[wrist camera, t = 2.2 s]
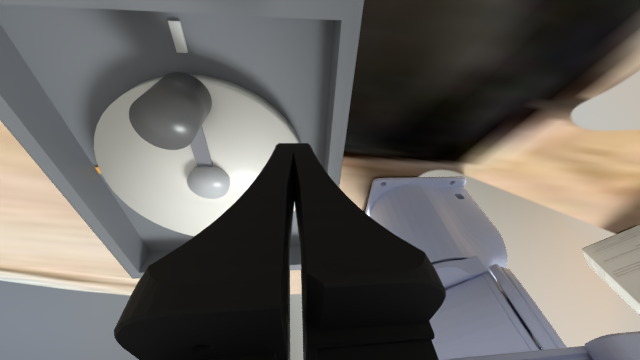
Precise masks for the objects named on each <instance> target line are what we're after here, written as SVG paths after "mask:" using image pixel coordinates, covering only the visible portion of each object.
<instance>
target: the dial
mask: <svg viewBox="0 0 640 360" xmlns="http://www.w3.org/2000/svg"><path fill="white" fill-rule="evenodd" d="M278 143H301V142H300V139H299V137H298V136H297V134H296V132H295V130H294V128H293V127H292V126H291V125H290V123H289V122H288V121H287V119H286V118H285V117H284V116H283V115H282V114H281V113H280V112H279V111H278V110H277V109H276V108H275V107H274V106H272V105H271V104H270V103H269V102H267V101H266V100H265V99H263V98H262V97H260V96H258V95H257V94H255V93H254V92H252V91H250V90H248V89H246V88H244V87H241V86H239V85H237V84H234V83H231V82H229V81H226V80H223V79H219V78H214V77H210V76H205V75H194V74H187V73H182V72H173V73H169V74H167V75H165V76H161V77H156V78H153V79H150V80H147V81H145V82H142V83H140V84H138V85H137V86H135V87H133V88H131V89H130V90H128V91H127V92H126V93H124V94H123V95H121V96H120V97H119V98H118V99H116V100H115V101H114V102H113V103H112V104H110V105H109V106H108V108H107V109H106V110H105V112H104V113H103V114H102V115H101V118H100V120H99V122H98V124H97V126H96V130H95V135H94V152H95V157H96V161H97V164H98V167H99V169H100V172H101V173H102V175H103V177H104V179H105V181H106V182H107V183H108V185H109V186H110V187H111V189H112V190H113V191H114V192H115V194H116V195H117V196H118V197H119V198H120V199H121V200H122V201H123V202H125V203H126V204H127V205H128V206H129V207H130V208H132V209H133V210H135V211H136V212H137V213H139V214H140V215H142V216H143V217H145V218H147V219H149V220H150V221H152V222H154V223H156V224H158V225H160V226H163V227H165V228H168V229H170V230H173V231H176V232H179V233H183V234H186V235H191V236H196V235H197V234H198V233H200V232H201V231H202V230H204V229H205V228H206V227H208V226H209V225H210V224H212V223H213V222H214V221H215V220H216V219H218V218H219V217H220V216H221V215H222V214H223V213H224V212H225V211H226V210H227V209H229V208H230V207H231V206H232V205H233V204H234V203H235V202H236V201H237V200H238V199H239V198H240V197H241V196H242V195H243V193H244V192H245V191H246V190H247V189H248V188H249V187H250V185H251V184H252V183H253V181H254V180H255V179H256V178H257V176H258V175H259V174H260V172H261V171H262V169H263V168H264V166H265V165H266V163H267V162H268V160H269V158H270V157H271V155H272V153H273V151H274V149H275V146H276V145H277V144H278ZM294 211H295V202H294Z"/></svg>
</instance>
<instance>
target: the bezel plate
mask: <svg viewBox="0 0 640 360" xmlns="http://www.w3.org/2000/svg"><path fill="white" fill-rule="evenodd" d="M363 5H364V0H0V120H1V122H2V123H3V124H4V125H5V126H6V128H7V129H8V130H9V131H10V132H11V133H12V135H13V136H14V137H15V138H16V139H17V141H18V142H19V143H20V144H21V145H22V147H23V148H24V149H25V150H26V151H27V153H28V154H29V155H30V156H31V157H32V159H33V160H34V161H35V162H36V163H37V165H38V166H39V167H40V168H41V169H42V171H43V172H44V173H45V174H46V175H47V177H48V178H49V179H50V180H51V181H52V183H53V184H54V185H55V186H56V187H57V189H58V190H59V191H60V192H61V193H62V195H63V196H64V197H65V198H66V199H67V201H68V202H69V203H70V204H71V205H72V207H73V208H74V209H75V210H76V211H77V213H78V214H79V215H80V216H81V217H82V219H83V220H84V221H85V222H86V223H87V225H88V226H89V227H90V228H91V229H92V231H93V232H94V233H95V234H96V235H97V237H98V238H99V239H100V240H101V241H102V243H103V244H104V245H105V246H106V247H107V249H108V250H109V251H110V252H111V253H112V254H113V256H114V257H115V258H116V259H117V260H118V262H119V263H120V264H121V265H122V266H123V268H124V269H125V270H126V271H127V272H128V274H129V275H130V276H131V277H132V278H141V277H142V276H143V274H144V273H145V271H146V269H147V267H148V266H149V265H151V264H153V263H154V262H156V261H158V260H159V259H161V258H162V257H164V256H166V255H167V254H169V253H170V252H172V251H173V250H175V249H177V248H178V247H180V246H181V245H183V244H184V243H186V242H187V241H189V240H190V239H192V238H193V237H194V236H191V235H186V234H183V233H179V232H176V231H173V230H170V229H168V228H165V227H163V226H160V225H158V224H156V223H154V222H152V221H150V220H149V219H147V218H145V217H143V216H142V215H140V214H139V213H137V212H136V211H135V210H133V209H132V208H130V207H129V206H128V205H127V204H126V203H125V202H123V201H122V200H121V199H120V198H119V197H118V196H117V195H116V194H115V192H114V191H113V190H112V189H111V187H110V186H109V185H108V183H107V182H106V181H105V179H104V177H103V175H102V173H101V172H100V169H99V167H98V164H97V161H96V157H95V152H94V135H95V130H96V126H97V124H98V122H99V120H100V118H101V115H102V114H103V113H104V112H105V110H106V109H107V108H108V106H109V105H110V104H112V103H113V102H114V101H115V100H116V99H118V98H119V97H120V96H121V95H123V94H124V93H126V92H127V91H128V90H130V89H131V88H133V87H135V86H137V85H138V84H140V83H142V82H145V81H147V80H150V79H153V78H156V77H161V76H165V75H167V74H169V73H173V72H182V73H187V74H194V75H205V76H210V77H214V78H219V79H223V80H226V81H229V82H231V83H234V84H237V85H239V86H241V87H244V88H246V89H248V90H250V91H252V92H254V93H255V94H257V95H258V96H260V97H262V98H263V99H265V100H266V101H267V102H269V103H270V104H271V105H272V106H274V107H275V108H276V109H277V110H278V111H279V112H280V113H281V114H282V115H283V116H284V117H285V118H286V119H287V121H288V122H289V123H290V125H291V126H292V127H293V128H294V130H295V132H296V134H297V136H298V137H299V139H300V142H301V143H309V144H310V145H311V147H312V150H313V152H314V154H315V155H316V157H317V159H318V160H319V162H320V163H321V165H322V166H323V168H324V169H325V171H326V172H327V173H328V175H329V176H330V177H331V179H332V180H333V181H334V182H335V184H336V185H337V186H338V187H339V184H340V176H341V169H342V161H343V154H344V146H345V139H346V132H347V124H348V117H349V109H350V102H351V94H352V87H353V79H354V72H355V64H356V57H357V50H358V42H359V35H360V27H361V20H362V12H363ZM290 270H301V253H300V242H299V234H298V226H297V218H296V210H295V211H294V212H293V222H292V233H291V243H290Z"/></svg>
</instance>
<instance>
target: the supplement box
mask: <svg viewBox="0 0 640 360" xmlns="http://www.w3.org/2000/svg"><path fill="white" fill-rule="evenodd" d="M582 251H583V253H584V256H585V259H586V261H587V263H588V266H589V267H590V268H592V269H593V270H594V271H595V272H596V273H597V274H598V275H599V276H600V277H601V278H602V279H603V280H604V281H605V282H606V283H607V284H608V285H609V286H610V287H611V288H612V289H613V290H614V291H615V292H616V293H617V294H618V295H619V296H620V297H621V298H623V299H624V300H625V301H626V302H627V303H628V304H629V305H630V306H631V307H632V308H633V309H634V310H635V311H636V312H637V313H638V314H639V315H640V225H637V226H635V227H633V228H631V229H628V230H626V231H623V232H621V233H619V234H616V235H614V236H611V237H609V238H606V239H604V240H602V241H599V242H597V243H594V244H592V245H590V246H587V247H585V248H582Z"/></svg>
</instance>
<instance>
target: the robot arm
mask: <svg viewBox="0 0 640 360" xmlns="http://www.w3.org/2000/svg"><path fill="white" fill-rule="evenodd" d="M451 181H452V182H451ZM383 182H385V183H383ZM381 183H383V184H381ZM465 183H466V179H465V178H464V177H413V178H376V179H375V180H373V182H372V186H371V190H370V195H369V199H368V203H367V207H366V211H365V212H364V211H362V210H361V209H360V208H359V207H358V206H357V205H355V204H354V203H353V202H352V201H351V200H350V199H349V198H348V197H347V196H346V195H345V194H344V193H343V192H342V191H341V189H340V188H339V187H338V186H337V185H336V184H335V182H334V181H333V180H332V179H331V177H330V176H329V175H328V173H327V172H326V171H325V169H324V168H323V166H322V165H321V163H320V162H319V160H318V159H317V157H316V155H315V154H314V152H313V150H312V147H311V145H310V144H309V143H278V144H277V145H276V146H275V149H274V151H273V153H272V155H271V157H270V158H269V160H268V162H267V163H266V165H265V166H264V168H263V169H262V171H261V172H260V174H259V175H258V176H257V178H256V179H255V180H254V181H253V183H252V184H251V185H250V187H249V188H248V189H247V190H246V191H245V192H244V193H243V195H242V196H241V197H240V198H239V199H238V200H237V201H236V202H235V203H234V204H233V205H232V206H231V207H230V208H229V209H227V210H226V211H225V212H224V213H223V214H222V215H221V216H220V217H219V218H218V219H216V220H215V221H214V222H213V223H212V224H210V225H209V226H208V227H206V228H205V229H204V230H202V231H201V232H200V233H198V234H197V235H196V236H194V237H193V238H192V239H190V240H189V241H187V242H186V243H184V244H183V245H181V246H180V247H178V248H177V249H175V250H173V251H172V252H170V253H169V254H167V255H166V256H164V257H162V258H161V259H159V260H158V261H156V262H154V263H153V264H151V265H149V266H148V267H147V269H146V271H145V273H144V274H143V276H142V277H141V279H140V280H139V282H138V283H137V285H136V287H135V289H134V291H133V293H132V295H131V297H130V299H129V301H128V303H127V305H126V307H125V309H124V311H123V313H122V315H121V317H120V319H119V321H118V323H117V325H116V327H115V330H114V336H115V339H116V340H117V342H118V343H119V344H120V345H121V346H122V347H123V348H124V349H126V350H127V351H128V352H130V353H131V354H132V355H134V356H135V357H136V358H138V359H139V360H290V243H291V233H292V222H293V212H294V202H295V210H296V218H297V226H298V234H299V242H300V253H301V282H302V318H303V352H304V353H303V358H304V360H640V332H628V333H617V334H610V335H605V336H601V337H599V338H596V339H594V340H591V341H589V342H588V343H586V344H585V346H581V347H569V348H567V347H566V346H565V344H564V343H563V341H562V340H561V339H560V337H559V336H558V334H557V333H556V331H555V330H554V329H553V327H552V326H551V324H550V323H549V322H548V320H547V319H546V317H545V316H544V315H543V313H542V312H541V311H540V309H539V308H538V306H537V305H536V304H535V302H534V301H533V299H532V298H531V297H530V295H529V294H528V293H527V291H526V290H525V289H524V287H523V286H522V285H521V283H520V282H519V281H518V279H517V278H516V277H515V275H514V274H513V273H512V272H511V271H510V269H507V268H506V264H507V252H506V247H505V244H504V241H503V239H502V237H501V235H500V233H499V231H498V230H497V228H496V227H495V226H494V225H493V224H492V222H491V221H490V220H489V218H488V217H487V216H486V215H485V213H484V212H483V211H482V210H481V209H480V207H479V206H478V205H477V203H476V202H475V201H474V200H473V198H472V197H471V196H470V195H469V193H468V192H467V191H466V190H465V188H464V185H465ZM496 280H497V281H496ZM499 285H500V286H499ZM539 345H540V346H539ZM541 348H542V349H541Z"/></svg>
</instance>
